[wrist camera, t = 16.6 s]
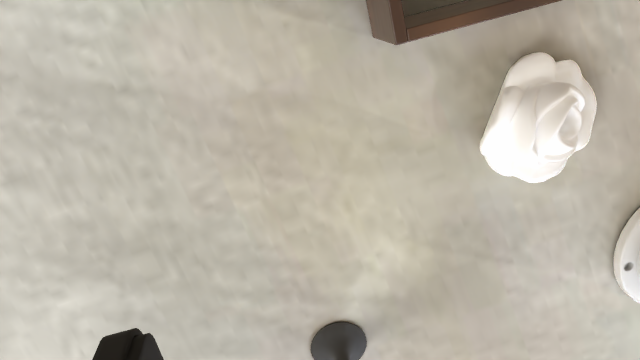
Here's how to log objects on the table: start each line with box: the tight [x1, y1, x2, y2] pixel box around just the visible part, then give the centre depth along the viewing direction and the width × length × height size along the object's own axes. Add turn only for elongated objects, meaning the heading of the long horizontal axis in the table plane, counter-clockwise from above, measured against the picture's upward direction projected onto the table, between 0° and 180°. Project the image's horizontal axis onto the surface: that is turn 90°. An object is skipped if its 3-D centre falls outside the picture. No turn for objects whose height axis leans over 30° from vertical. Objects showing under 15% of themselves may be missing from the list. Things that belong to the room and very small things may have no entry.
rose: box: [480, 52, 597, 183], centre depth 36 cm, size 10×4×10 cm
